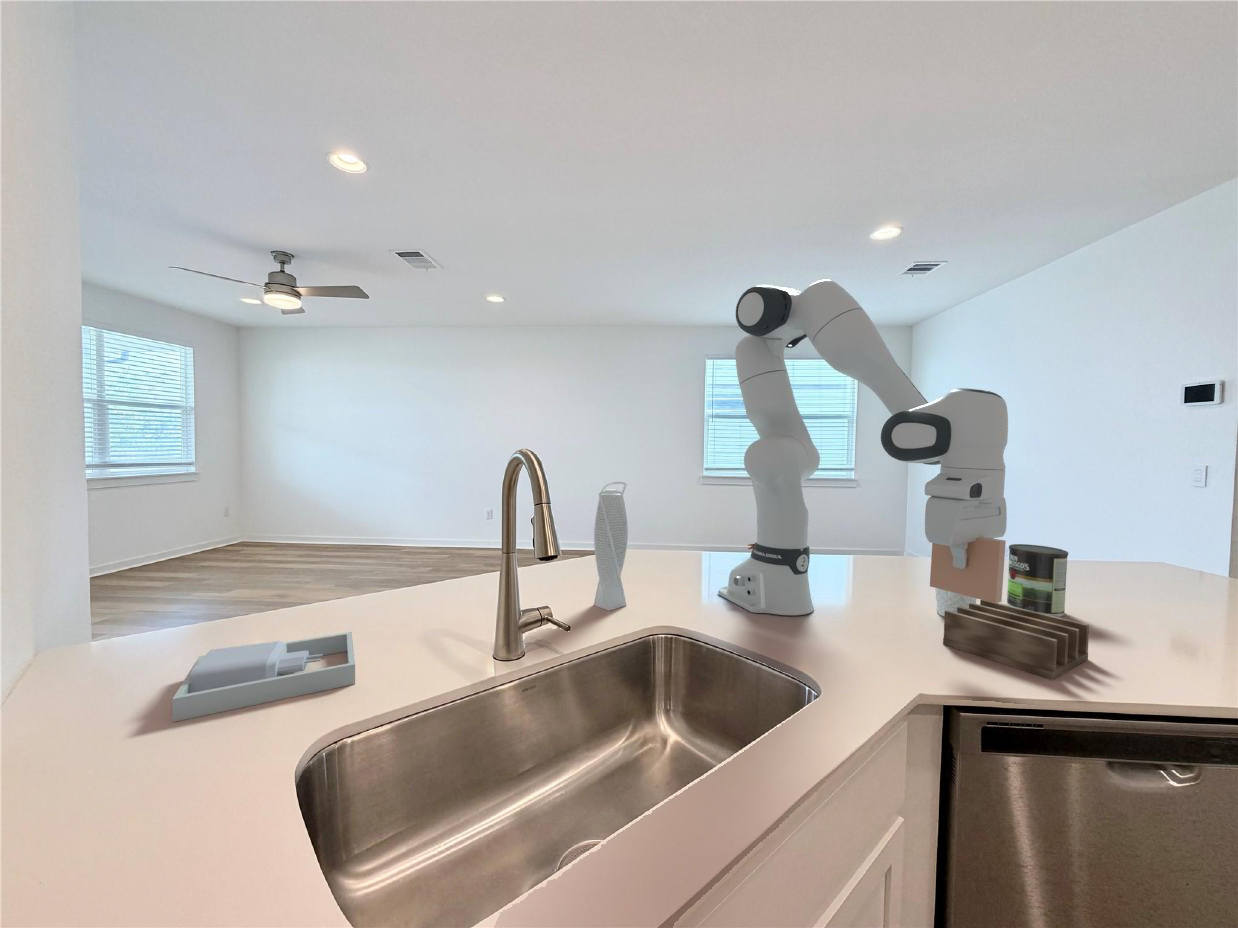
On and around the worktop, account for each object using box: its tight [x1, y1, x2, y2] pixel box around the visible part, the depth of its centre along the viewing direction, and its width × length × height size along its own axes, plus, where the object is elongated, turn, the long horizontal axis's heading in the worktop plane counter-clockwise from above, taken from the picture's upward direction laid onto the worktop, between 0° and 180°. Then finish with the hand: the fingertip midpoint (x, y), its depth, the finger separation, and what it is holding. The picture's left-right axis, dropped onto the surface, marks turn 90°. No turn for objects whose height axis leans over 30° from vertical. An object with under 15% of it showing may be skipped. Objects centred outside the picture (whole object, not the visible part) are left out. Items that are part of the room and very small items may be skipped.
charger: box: [189, 640, 323, 693], centre depth 74 cm, size 5×9×15 cm
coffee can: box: [1006, 543, 1069, 618], centre depth 111 cm, size 10×10×14 cm
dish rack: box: [942, 599, 1090, 681], centre depth 87 cm, size 16×15×6 cm
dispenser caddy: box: [171, 631, 356, 723], centre depth 74 cm, size 15×21×3 cm
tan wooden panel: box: [929, 537, 1007, 603], centre depth 82 cm, size 10×2×10 cm, turn 31°
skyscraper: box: [593, 481, 629, 611], centre depth 110 cm, size 8×8×28 cm
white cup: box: [935, 588, 977, 617], centre depth 106 cm, size 8×8×10 cm
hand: (965, 566), depth 82 cm, fingers closed on tan wooden panel, 2 cm apart
